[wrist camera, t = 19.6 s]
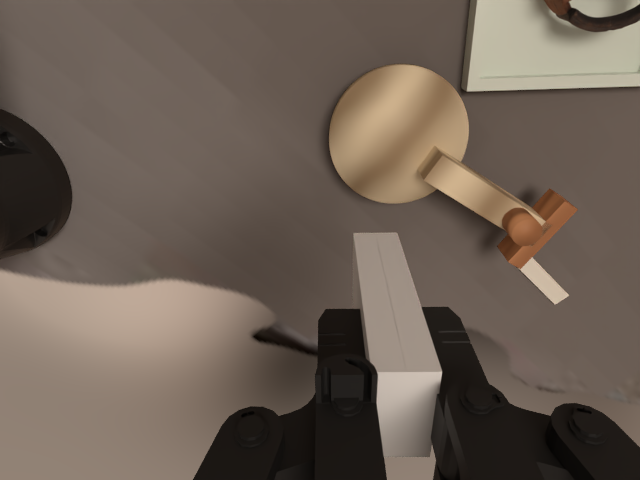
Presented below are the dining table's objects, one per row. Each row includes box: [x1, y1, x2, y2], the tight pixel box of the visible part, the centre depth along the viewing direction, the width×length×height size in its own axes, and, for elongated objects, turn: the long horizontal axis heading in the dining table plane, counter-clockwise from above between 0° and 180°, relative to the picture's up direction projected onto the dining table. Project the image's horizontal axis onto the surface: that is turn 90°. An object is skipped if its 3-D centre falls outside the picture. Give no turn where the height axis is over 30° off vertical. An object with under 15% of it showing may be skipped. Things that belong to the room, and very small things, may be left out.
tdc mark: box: [520, 258, 569, 305], centre depth 49 cm, size 8×2×1 cm, turn 47°
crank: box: [329, 64, 578, 269], centre depth 38 cm, size 22×12×7 cm, turn 59°
